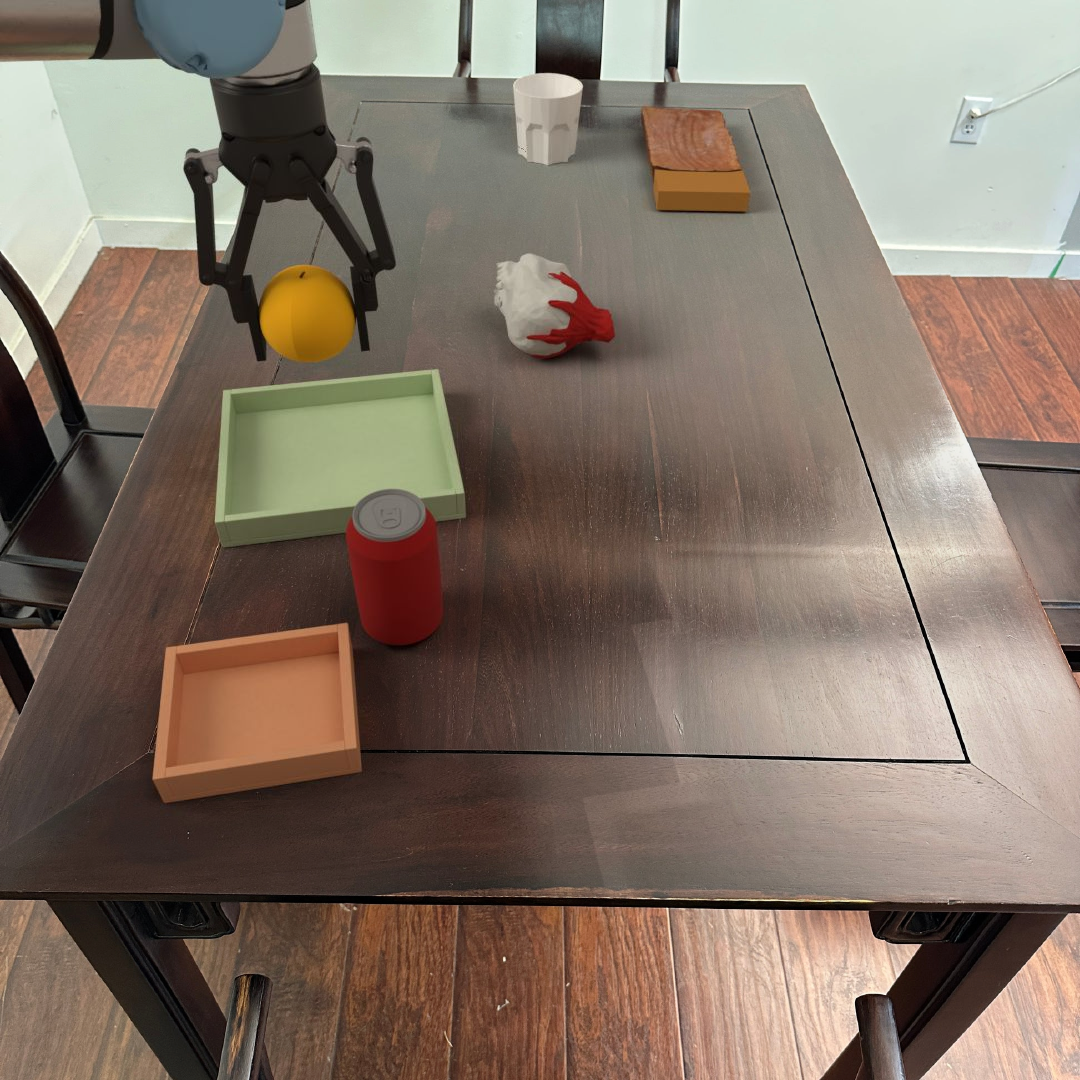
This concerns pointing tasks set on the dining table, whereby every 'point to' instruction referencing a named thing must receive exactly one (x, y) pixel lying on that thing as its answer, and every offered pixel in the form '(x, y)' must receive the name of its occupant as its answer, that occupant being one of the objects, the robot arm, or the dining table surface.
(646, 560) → the dining table surface
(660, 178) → the wooden board
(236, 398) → the fruit tray
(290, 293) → the orange
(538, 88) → the cup
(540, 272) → the candle
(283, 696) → the drink tray
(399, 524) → the beverage can
